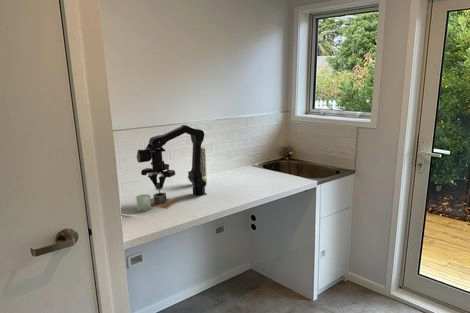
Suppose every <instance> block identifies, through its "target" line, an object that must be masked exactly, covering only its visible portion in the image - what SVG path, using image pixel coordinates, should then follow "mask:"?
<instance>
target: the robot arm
mask: <svg viewBox="0 0 470 313" xmlns="http://www.w3.org/2000/svg"><path fill="white" fill-rule="evenodd" d="M184 134H187V135H189V136H190V140H191V143H192V157H191V159H192V160H191V170H190V171H187V179H188V181H189V182H190V183H191V184H192V195H194V196H196V197H197V196H198V197H199V196H200V197H201V196H207V193H206V186H207V184H206V182H205V181H204V180H202V173H201V170H200V158H201V146H202V143H203V142H204V141H205V140H204V139H205V132H204V130H202V129H200V128H193V127H191V126H188V125H186V124H183V125H180V126H179V127H177V128H175V129H172V130H170V131H168V132H166V133H164V134H159V135H155V136H151V137H150V138H149V140H148V144H147V145H146V147H145V149H137V152H136V160H137V163H147V162H150V161H151V162H150V165H151V167H152V168H151V167H146V168H144V169H141V171H140V174H141V176H147V177H148V178H149V179H150V181H151V182H152V184H153V185H154V187H155V188H156V183H158V182H160V186H161V188H163V189H164V184H165V181H166V179H167V178H172V177H174V176H176V171H175V170H174V169H170V164H168V163H165V161H164V160H163V152H166V149H165V148H164V147H163V146H165V145H166V144H167V143H168V142H169V141H171V140H173V139H176V138H178V137H180V136H182V135H184ZM158 175H160V176H158Z"/></svg>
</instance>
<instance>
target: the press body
mask: <svg viewBox="0 0 470 313" xmlns="http://www.w3.org/2000/svg"><path fill="white" fill-rule="evenodd" d="M160 193H161V195H159V192H158V193H154V194H153V197H152V198H154V204H157V205H160V204H165V203H167V199H168V198H167V193H166V192H160Z"/></svg>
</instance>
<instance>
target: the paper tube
mask: <svg viewBox="0 0 470 313" xmlns="http://www.w3.org/2000/svg"><path fill="white" fill-rule="evenodd" d="M206 161H207V159H206V146H205V145H201V158H200V170H201V173H202V180H204V181H205V182H206V185H207V183H208V180H207V179H208V178H207V176H208V175H207V162H206Z"/></svg>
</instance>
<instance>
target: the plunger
mask: <svg viewBox="0 0 470 313" xmlns="http://www.w3.org/2000/svg"><path fill="white" fill-rule="evenodd" d="M154 189H155V190H156V191H158V193H159V195H161V193H162V192H161V191H162V190H164V187H163V188H161V186H160V181H157V183H156V187H155V188H154Z"/></svg>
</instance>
